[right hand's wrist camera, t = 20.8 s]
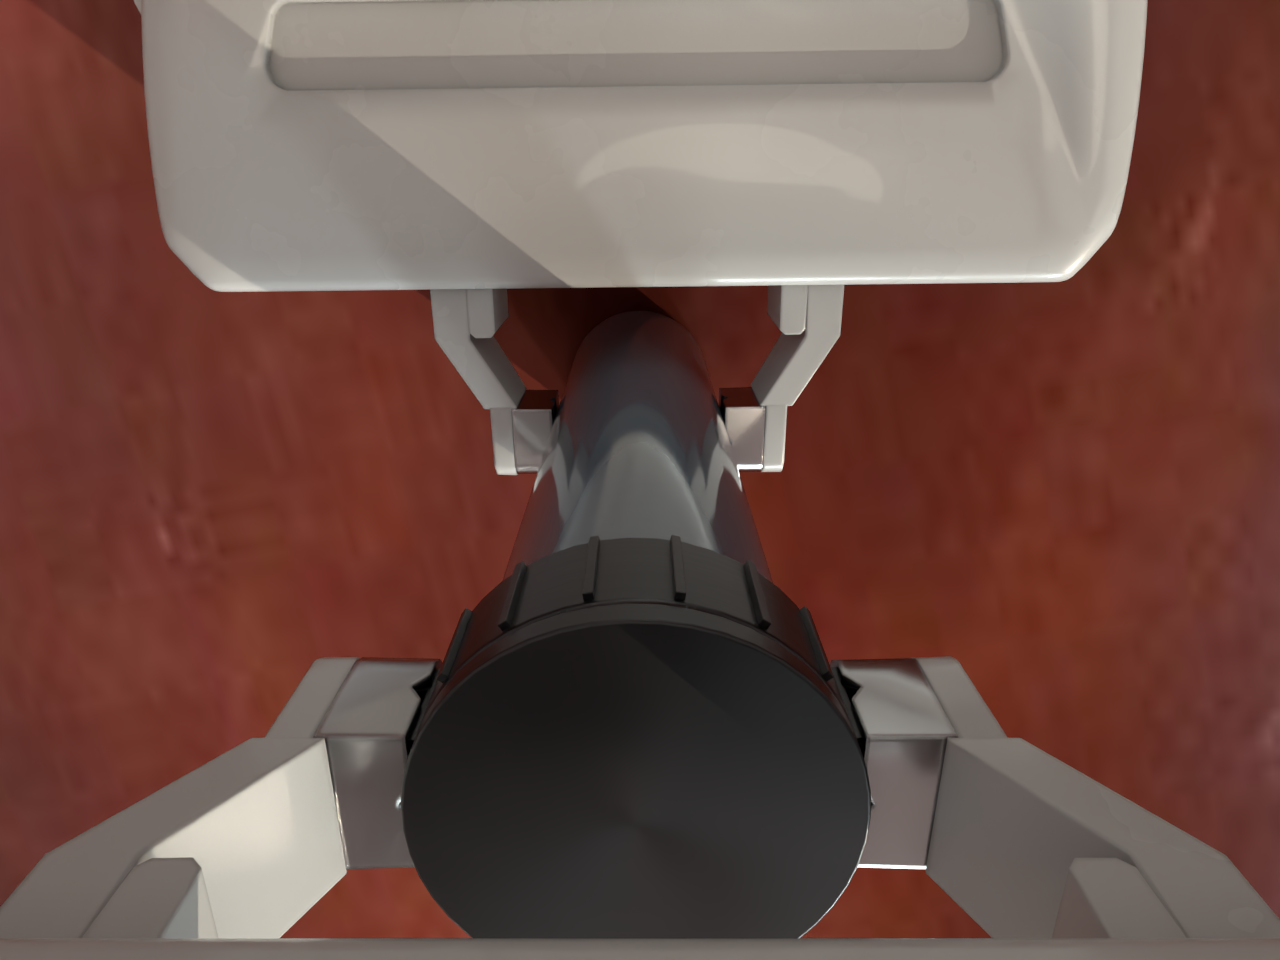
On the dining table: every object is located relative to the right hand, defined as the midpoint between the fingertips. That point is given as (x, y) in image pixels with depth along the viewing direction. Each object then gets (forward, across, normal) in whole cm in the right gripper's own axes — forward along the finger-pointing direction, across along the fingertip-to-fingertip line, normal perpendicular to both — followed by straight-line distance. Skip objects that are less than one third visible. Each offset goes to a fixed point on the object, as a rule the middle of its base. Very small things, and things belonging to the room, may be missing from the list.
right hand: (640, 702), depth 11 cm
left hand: (+11, 0, -1) cm, 11 cm away
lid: (-2, 0, 0) cm, 2 cm away
